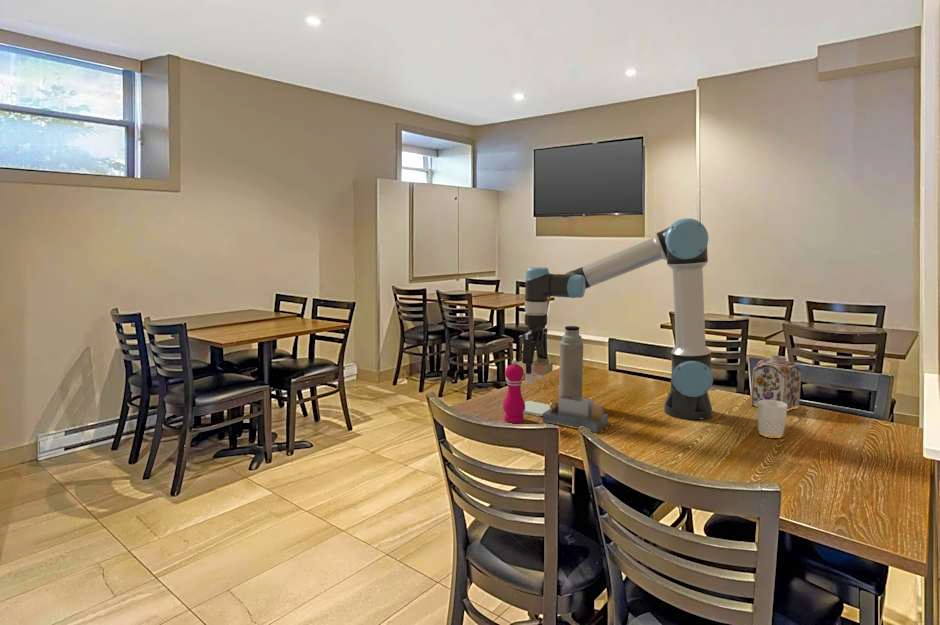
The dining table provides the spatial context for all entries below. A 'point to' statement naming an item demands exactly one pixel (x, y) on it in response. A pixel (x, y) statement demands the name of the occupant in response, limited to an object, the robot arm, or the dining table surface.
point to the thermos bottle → (571, 363)
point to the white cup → (771, 417)
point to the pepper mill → (514, 394)
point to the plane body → (576, 413)
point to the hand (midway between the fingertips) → (534, 380)
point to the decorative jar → (776, 381)
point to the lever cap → (539, 366)
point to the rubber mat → (535, 408)
